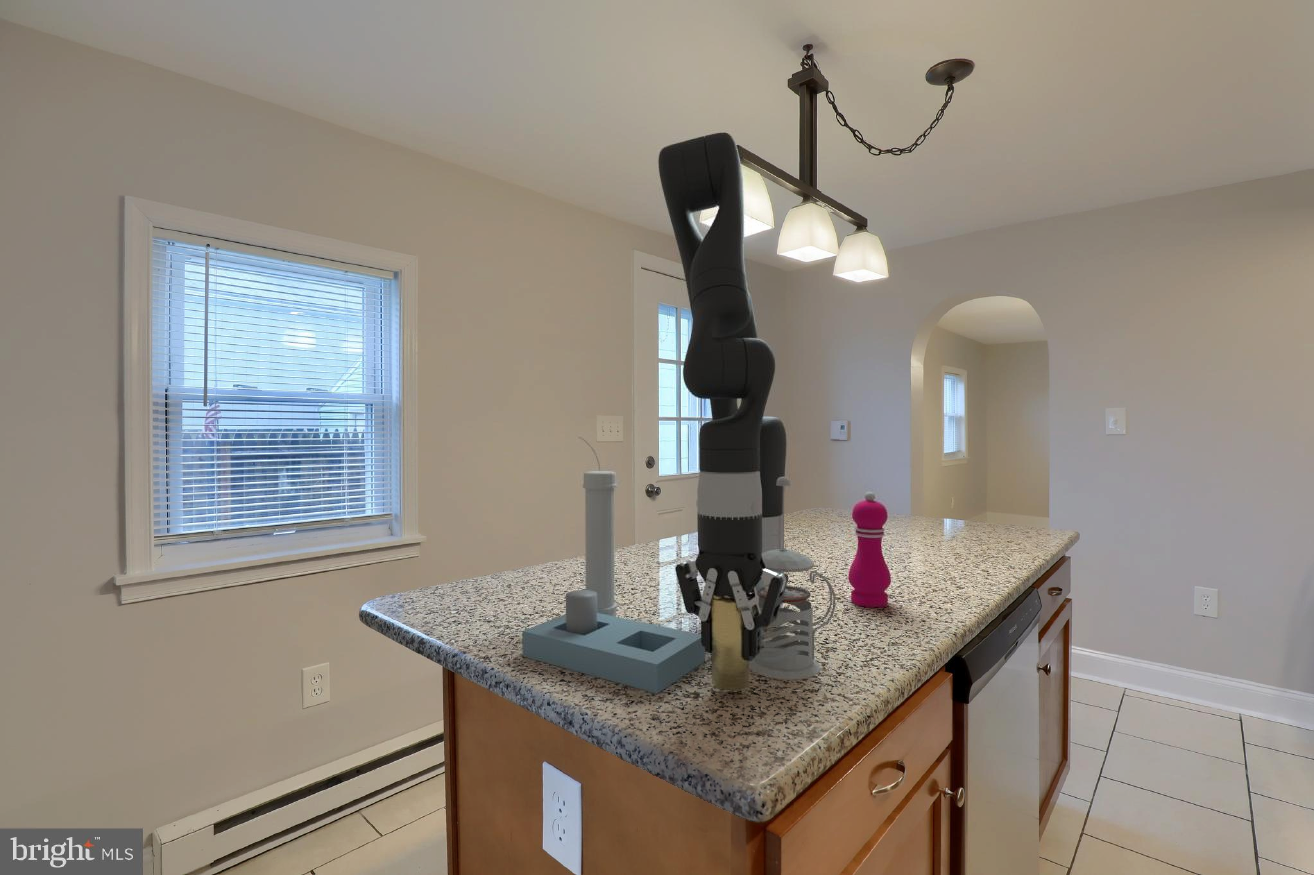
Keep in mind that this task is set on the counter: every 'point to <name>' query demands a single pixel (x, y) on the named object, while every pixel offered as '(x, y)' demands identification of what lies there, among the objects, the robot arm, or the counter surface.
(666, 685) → the jig
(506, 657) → the counter surface
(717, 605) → the gold cylinder
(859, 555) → the pepper mill
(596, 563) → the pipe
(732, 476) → the robot arm
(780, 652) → the french press
